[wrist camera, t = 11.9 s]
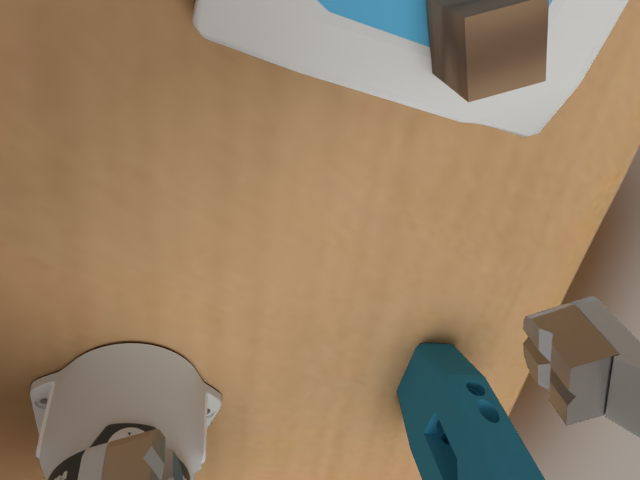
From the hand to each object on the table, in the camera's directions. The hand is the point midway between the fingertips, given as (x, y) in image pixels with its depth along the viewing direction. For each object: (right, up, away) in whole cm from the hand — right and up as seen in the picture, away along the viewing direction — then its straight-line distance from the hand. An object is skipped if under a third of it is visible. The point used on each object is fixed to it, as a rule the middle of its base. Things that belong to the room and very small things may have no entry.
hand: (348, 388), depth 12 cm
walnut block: (+9, +18, +25) cm, 32 cm away
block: (+12, -12, +53) cm, 55 cm away
